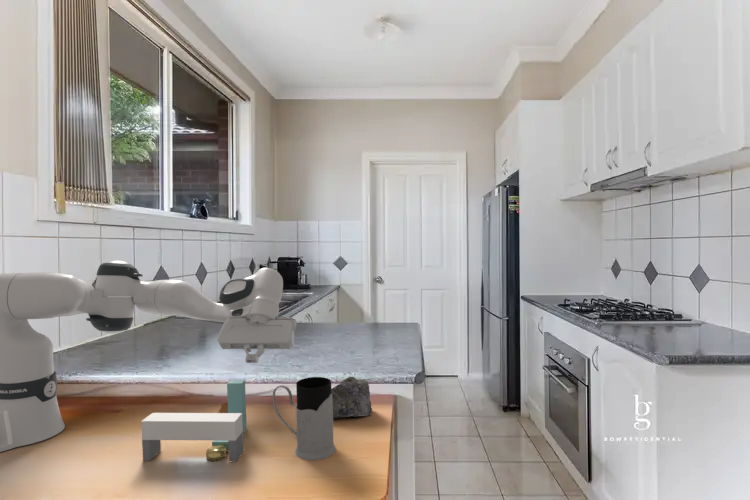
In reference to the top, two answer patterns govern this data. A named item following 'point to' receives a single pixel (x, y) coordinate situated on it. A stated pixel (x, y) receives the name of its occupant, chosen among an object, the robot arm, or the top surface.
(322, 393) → the glass holder
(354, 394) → the mineral rock
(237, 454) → the white bench
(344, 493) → the top surface
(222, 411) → the primitive tool
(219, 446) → the token
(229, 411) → the block
